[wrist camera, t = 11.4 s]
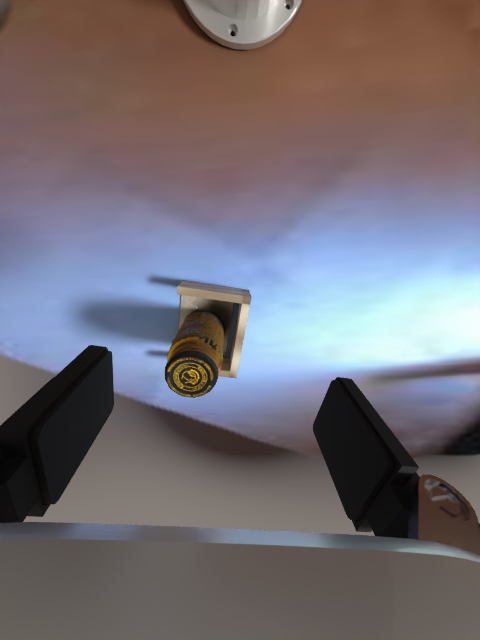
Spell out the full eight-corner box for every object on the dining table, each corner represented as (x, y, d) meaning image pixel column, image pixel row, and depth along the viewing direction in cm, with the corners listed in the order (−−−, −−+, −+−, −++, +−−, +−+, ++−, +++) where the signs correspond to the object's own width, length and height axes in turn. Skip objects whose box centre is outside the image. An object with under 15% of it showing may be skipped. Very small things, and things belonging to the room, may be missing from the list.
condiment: (177, 346, 34) (153, 401, 23) (181, 291, 32) (157, 324, 20) (225, 352, 35) (224, 409, 24) (234, 299, 32) (238, 335, 21)
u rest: (182, 280, 31) (177, 286, 28) (248, 290, 32) (251, 297, 29) (176, 358, 35) (171, 371, 32) (235, 364, 36) (236, 378, 33)
